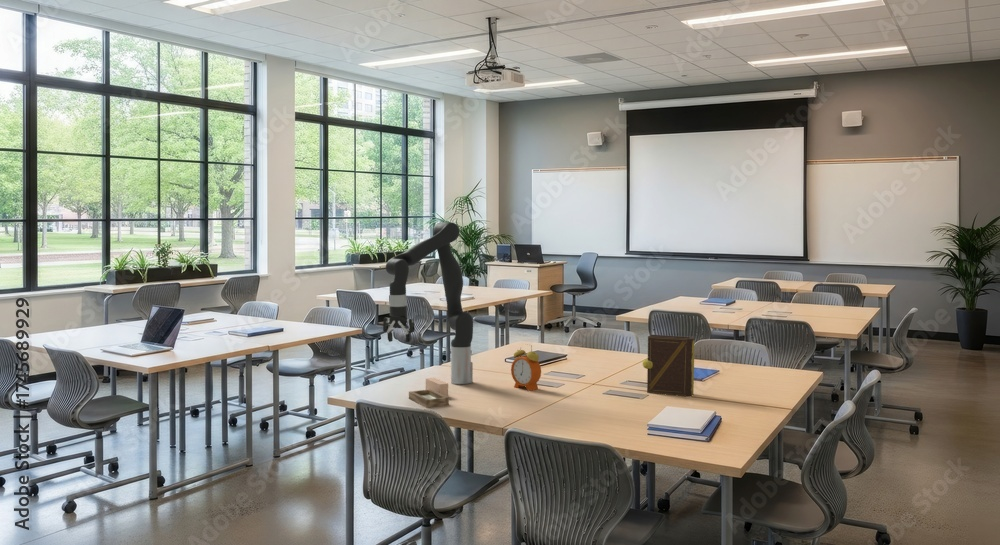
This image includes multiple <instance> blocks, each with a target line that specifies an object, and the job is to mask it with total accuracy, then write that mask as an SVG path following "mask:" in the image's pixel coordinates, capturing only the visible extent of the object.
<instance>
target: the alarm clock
mask: <svg viewBox="0 0 1000 545" xmlns="http://www.w3.org/2000/svg"><path fill="white" fill-rule="evenodd" d="M526 345H529V344H526ZM532 348H533V346H532V345H531V344H530V349H531V350H530V351H528V352H527V353H526V351H525V350H524V349H522V348H520V349H517V350H516V351H515V352H514V353H513V358H514V360H513V361H512V363H511V366H510V367H511V368H510V373H511V374H510V375H511V378H512V380H513V381H514V382H515V383H514V386H513V388H514V389H519V388H523V387H525V388H526V391H531V392H532V391H536V390H539V386H538V384H537V383H538V382H539V381H540V380H541V379H540V378H541V376H542V367H541V365H540V362H539V359H540V357H539V354H538V353H537V352H536V351H533V349H532Z"/></svg>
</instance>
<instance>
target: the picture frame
mask: <svg viewBox="0 0 1000 545" xmlns="http://www.w3.org/2000/svg"><path fill="white" fill-rule="evenodd" d="M408 399H409V400H411V401H413V402H415V403H416V404H419V405H420V406H422V407H425V408H426V409H427V407H428V408H433V407H443V406H448V405H449V402H450V401H449V400H450V398H449V396H448V397H446V396H444V395H442V394H440V393H438V392H435V391H433V390H431V389H428V390H426V389H419V390H412V391H408Z"/></svg>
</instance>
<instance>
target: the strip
mask: <svg viewBox="0 0 1000 545" xmlns="http://www.w3.org/2000/svg"><path fill="white" fill-rule="evenodd" d="M428 389H431V390H433V391H435V392H438V393H440V394H442V395H444V396H446V397H449V383H448V382H446V381H443V380H440V379H438V378H436V377H429V378H425V390H428Z"/></svg>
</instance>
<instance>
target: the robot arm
mask: <svg viewBox="0 0 1000 545" xmlns="http://www.w3.org/2000/svg"><path fill="white" fill-rule="evenodd" d="M432 235H433V236H431V237H430V238H427V239H425V240H422V241H420V242H418V243H416V244H414V245H413V246H411V247H410V248H408V249H407V250H406V251H404V252H401V253H399V254H397V255H394V256H393V257H391V258H390V259H388V261H387V262H386V265H385V270H386V272H387V273H388V274H390V275H393V276H394V278H393V279H394V280H392V281H391V282H390V283H389V299H388V300H389V301H388V302H389V303H388V304H389V316H390V317H388V316H387V317H383V320H382V321H383V322H382V323H383V324H382V330H383V332H385V333H387V340H388V342H389V343H391V342H393V330H395V329H402V330H403V331H404V332H405V343H407V344H408V343H410V342H411V340H412V337H411V335H412V333H415V332H416V328H415V319H414V318H413V317H412V318H408V299H407V287H406V285H407V281H408V277H409V271H410V270H409V268H410V266H411V267H412V266H414V265H416V264H418V263H419V262H420V261H422V260H423V259H425V258H426V257H427V256H429V255H431V254H432V253H434V252H435V251H437V255H438V259H439V265H440V266H439V267H440V270H441V277H442V278H441V279H442V284H443V288H444V289H443V290H444V295H445V301H446V310H447V314H446V315H447V322H448V326H449V328H450V329H451V330H453V331H455V332H454V338H452V339H451V341H450V356H451V357H450V365H451V366H450V370H451V371H450V373H451V374H450V376H451V377H450V379H451V380H450V382H451V384H452V385H453V384H454V385H468V384H471V383H473V382H474V381H473V379H474V377H473V375H474V372H473V370H474V369H473V368H474V363H473V362H472V341H473V338H474V335H473V333H474V321H473V320H474V318H473V317H472V315H471V314H470V313H468V312H466V311H464V310H463V306H462V299H461V298H462V292H463V288H464V278H463V273H462V268H461V266H460V264H459V261H457V258H456V257H455V256H454V254H453V251H452V248H451V243H453V242H455V241H456V240H457V239H458V237H459V236H460V227H459V225H458V224H457V223H455V222H451V221H443V222H441V221H440V222H437V223H436V224H435V225H434V226H433V230H432ZM389 323H390V325H389Z"/></svg>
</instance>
